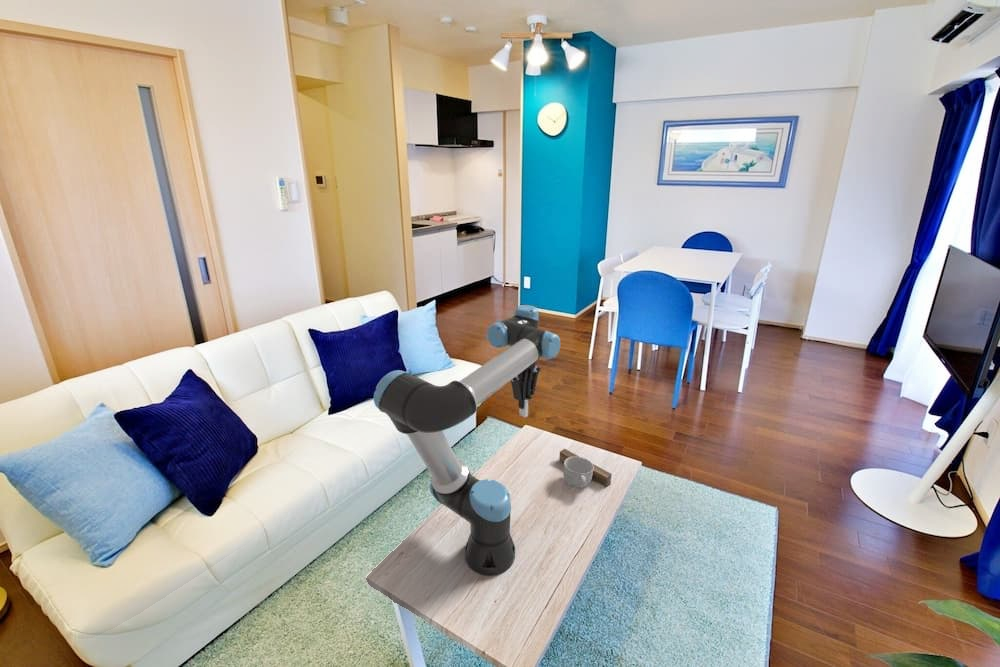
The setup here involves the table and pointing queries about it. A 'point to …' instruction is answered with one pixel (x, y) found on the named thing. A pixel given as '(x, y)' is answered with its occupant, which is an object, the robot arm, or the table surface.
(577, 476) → the teacup
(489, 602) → the table surface
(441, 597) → the table surface
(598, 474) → the board
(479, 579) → the table surface
